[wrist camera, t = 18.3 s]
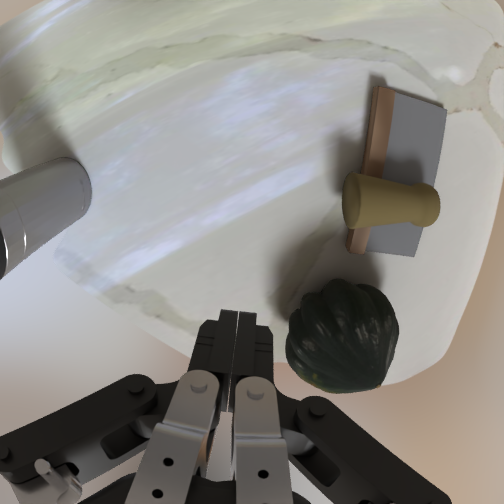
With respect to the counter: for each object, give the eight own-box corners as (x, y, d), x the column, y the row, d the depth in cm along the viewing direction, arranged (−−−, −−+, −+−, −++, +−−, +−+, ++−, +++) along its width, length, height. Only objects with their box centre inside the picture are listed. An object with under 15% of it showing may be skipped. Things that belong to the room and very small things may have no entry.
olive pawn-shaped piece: (346, 164, 32) (426, 172, 33) (339, 212, 36) (416, 215, 36) (365, 185, 27) (453, 193, 28) (354, 239, 31) (438, 240, 31)
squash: (245, 326, 37) (308, 431, 30) (339, 245, 33) (423, 356, 25) (295, 327, 49) (345, 403, 41) (367, 267, 44) (426, 345, 37)
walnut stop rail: (345, 245, 38) (349, 252, 36) (373, 87, 30) (379, 86, 28) (359, 247, 38) (364, 254, 36) (389, 91, 30) (395, 90, 28)
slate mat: (359, 247, 38) (361, 250, 37) (389, 91, 30) (391, 91, 29) (412, 254, 38) (414, 257, 37) (443, 109, 30) (447, 109, 29)
